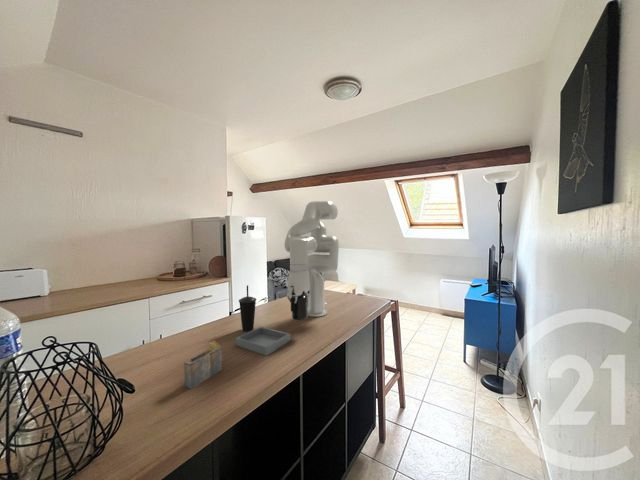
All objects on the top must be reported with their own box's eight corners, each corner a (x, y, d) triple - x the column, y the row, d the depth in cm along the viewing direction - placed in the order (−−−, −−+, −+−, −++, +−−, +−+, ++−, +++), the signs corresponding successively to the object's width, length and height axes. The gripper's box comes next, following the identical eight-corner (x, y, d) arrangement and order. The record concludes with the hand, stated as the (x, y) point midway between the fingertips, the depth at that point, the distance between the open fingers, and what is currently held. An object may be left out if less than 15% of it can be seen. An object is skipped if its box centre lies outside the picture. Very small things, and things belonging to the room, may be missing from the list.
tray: (261, 333, 113) (261, 326, 113) (290, 341, 105) (290, 333, 105) (235, 345, 101) (235, 337, 101) (266, 355, 93) (266, 347, 93)
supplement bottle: (300, 313, 115) (300, 286, 114) (311, 317, 111) (310, 289, 110) (288, 317, 111) (287, 289, 110) (298, 321, 106) (298, 293, 105)
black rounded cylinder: (252, 333, 113) (251, 287, 112) (235, 332, 114) (235, 287, 113) (259, 327, 120) (259, 284, 119) (244, 325, 122) (243, 283, 121)
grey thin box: (214, 368, 85) (214, 339, 85) (221, 370, 84) (221, 341, 83) (183, 387, 75) (182, 354, 75) (191, 390, 74) (190, 356, 73)
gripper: (303, 263, 118) (304, 302, 120) (278, 270, 103) (279, 313, 105) (317, 265, 114) (317, 304, 116) (293, 272, 100) (294, 317, 101)
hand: (299, 308), depth 110 cm, fingers closed on supplement bottle, 6 cm apart
